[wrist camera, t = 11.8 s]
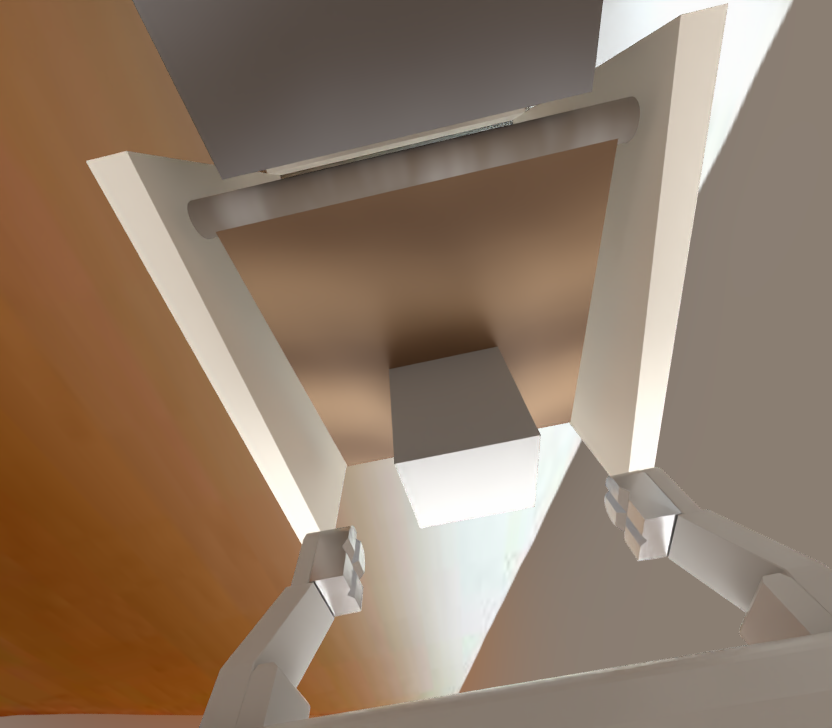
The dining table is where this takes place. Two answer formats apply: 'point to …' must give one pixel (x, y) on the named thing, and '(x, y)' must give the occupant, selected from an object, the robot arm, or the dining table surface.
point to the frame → (615, 79)
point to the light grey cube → (463, 438)
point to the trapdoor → (403, 186)
